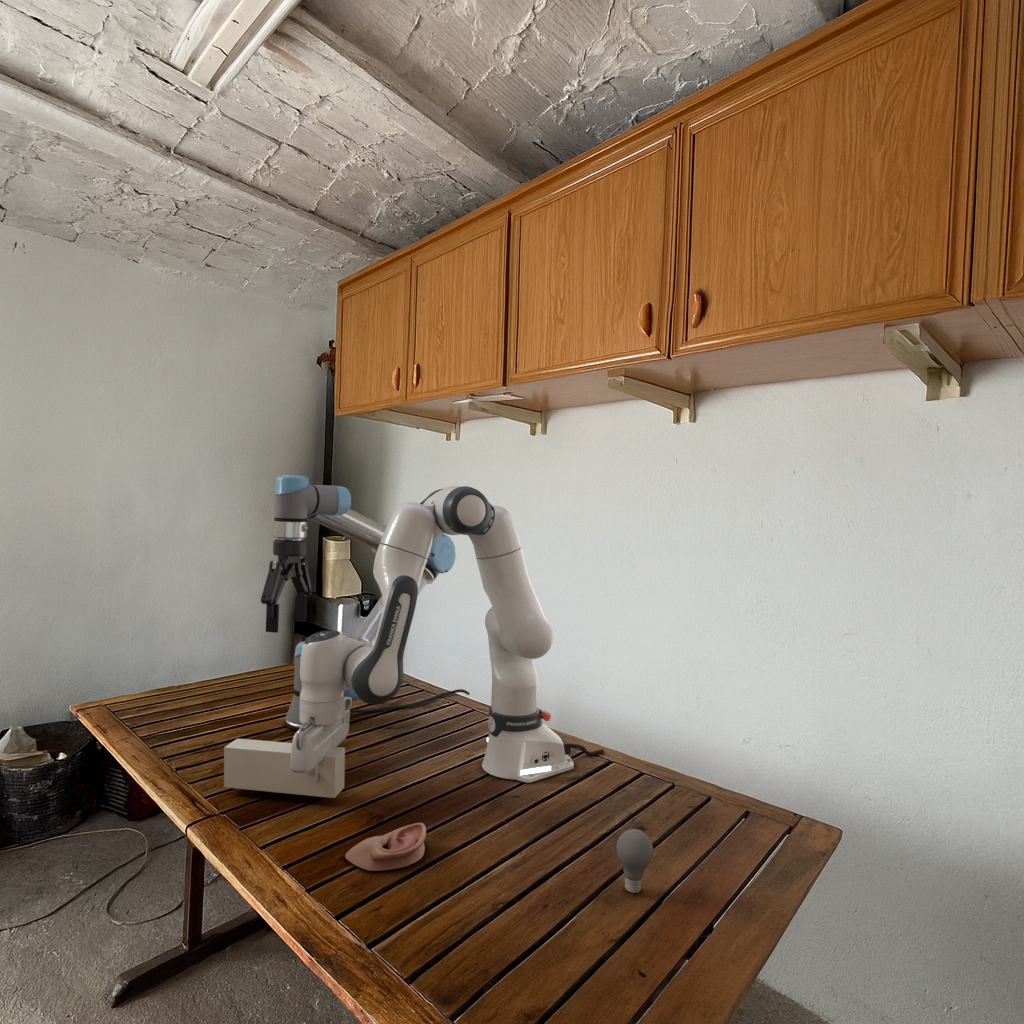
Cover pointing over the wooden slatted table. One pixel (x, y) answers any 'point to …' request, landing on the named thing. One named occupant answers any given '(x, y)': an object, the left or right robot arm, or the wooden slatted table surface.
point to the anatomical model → (390, 849)
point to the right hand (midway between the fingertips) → (320, 775)
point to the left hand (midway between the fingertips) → (286, 626)
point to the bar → (279, 769)
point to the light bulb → (634, 857)
